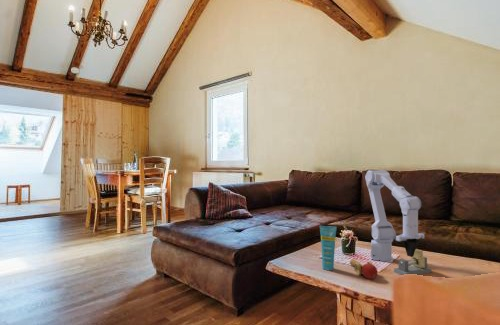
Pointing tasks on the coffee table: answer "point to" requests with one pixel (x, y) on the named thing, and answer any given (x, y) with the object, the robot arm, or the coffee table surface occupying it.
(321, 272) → the coffee table surface
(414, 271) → the pipe rig
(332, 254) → the tube
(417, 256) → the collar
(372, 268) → the kendama
